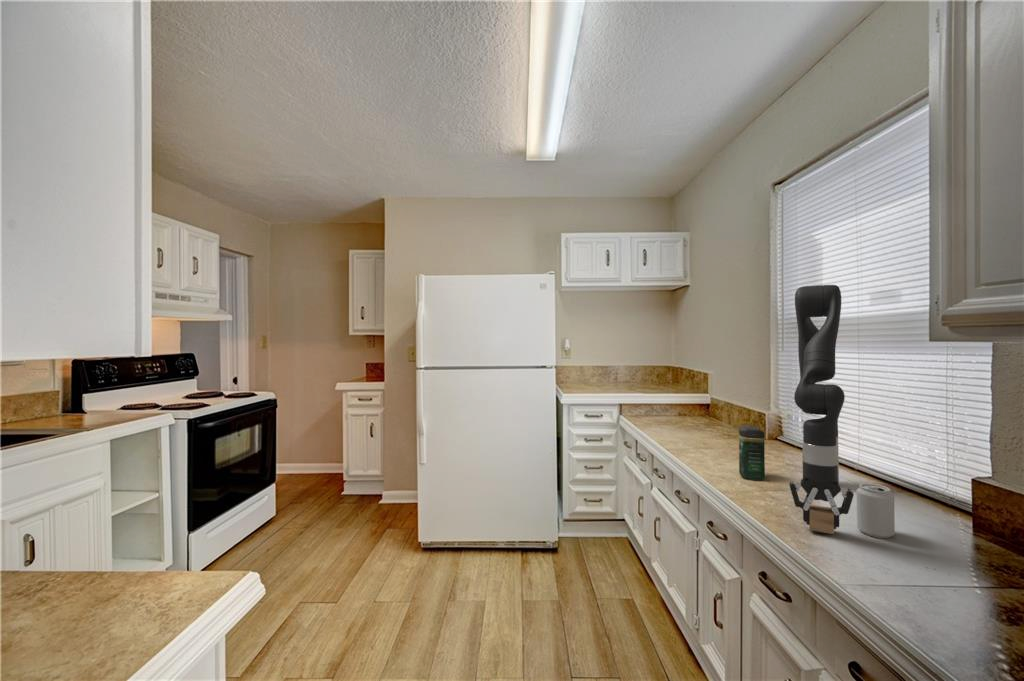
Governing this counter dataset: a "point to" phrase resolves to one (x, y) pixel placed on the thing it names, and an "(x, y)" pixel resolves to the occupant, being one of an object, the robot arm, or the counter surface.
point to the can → (875, 510)
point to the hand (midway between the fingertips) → (820, 525)
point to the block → (821, 519)
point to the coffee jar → (751, 452)
